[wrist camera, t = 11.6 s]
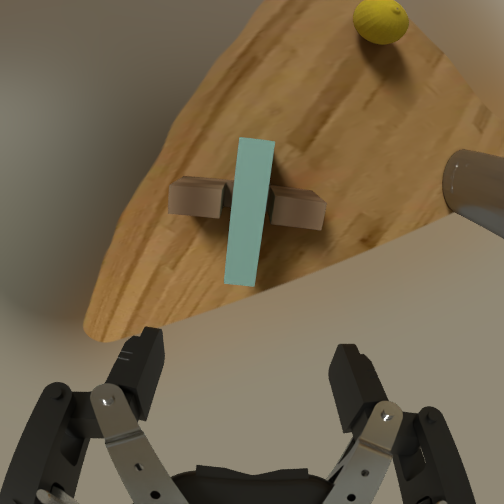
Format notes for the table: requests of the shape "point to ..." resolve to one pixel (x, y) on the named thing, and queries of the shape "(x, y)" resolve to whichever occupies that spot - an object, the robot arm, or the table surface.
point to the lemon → (380, 21)
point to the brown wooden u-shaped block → (220, 194)
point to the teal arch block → (248, 210)
